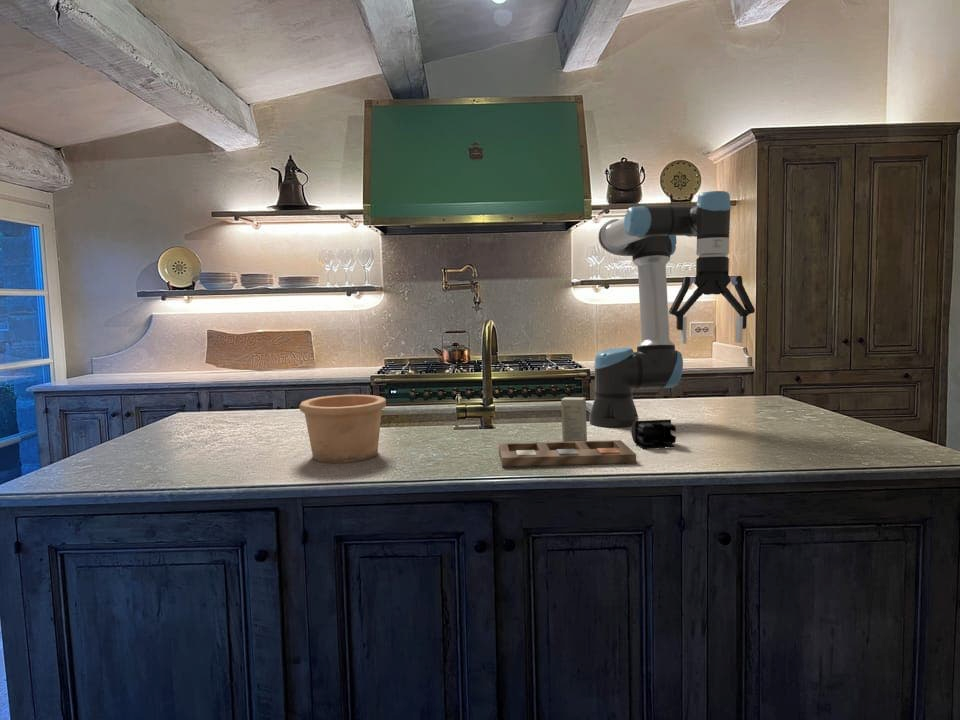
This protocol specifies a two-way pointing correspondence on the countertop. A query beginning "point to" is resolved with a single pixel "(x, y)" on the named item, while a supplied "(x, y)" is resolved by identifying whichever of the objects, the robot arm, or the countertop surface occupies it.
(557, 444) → the socket plate
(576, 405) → the skincare box
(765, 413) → the countertop surface
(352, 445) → the pottery
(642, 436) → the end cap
